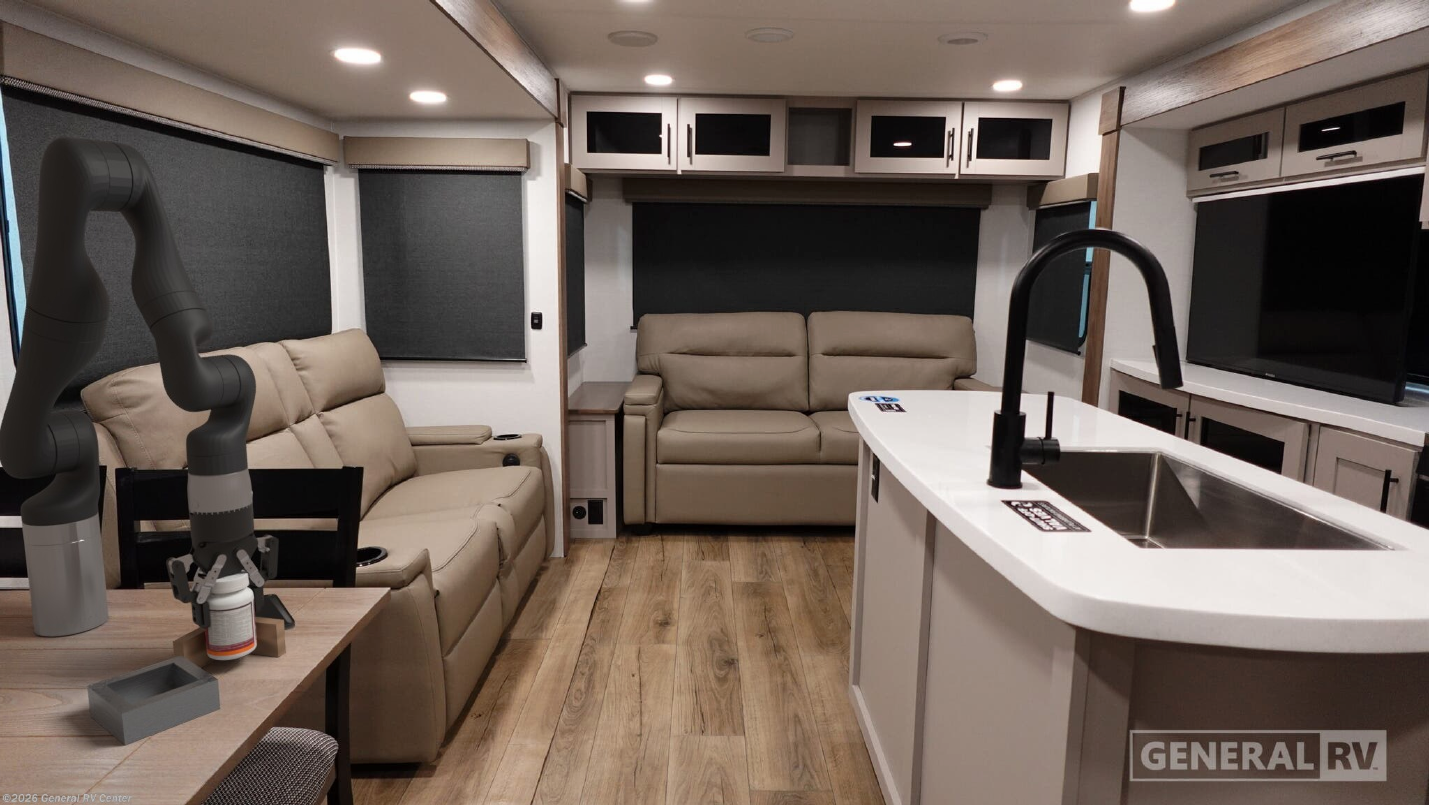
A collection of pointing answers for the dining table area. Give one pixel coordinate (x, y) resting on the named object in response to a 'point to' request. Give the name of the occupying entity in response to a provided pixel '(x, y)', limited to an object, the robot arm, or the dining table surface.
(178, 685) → the bore block
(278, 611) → the phone
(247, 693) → the dining table surface
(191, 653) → the v block
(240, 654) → the pill bottle
